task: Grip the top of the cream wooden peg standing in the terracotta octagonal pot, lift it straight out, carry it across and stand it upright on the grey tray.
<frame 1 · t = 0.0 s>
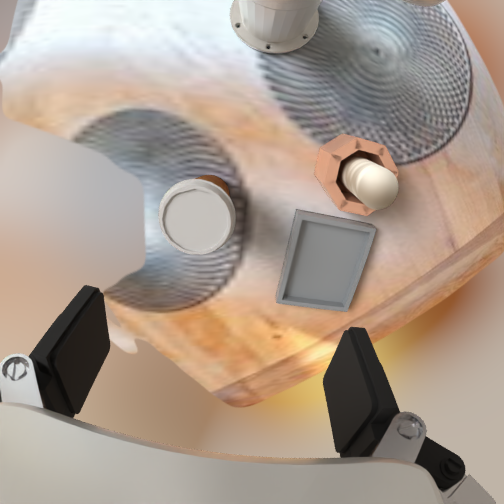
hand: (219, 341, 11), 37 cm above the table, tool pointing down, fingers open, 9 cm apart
tray: (323, 261, 51), on the table
peg: (349, 169, 43), point 1 cm above the table, touching terracotta octagonal pot
terracotta octagonal pot: (347, 168, 44), on the table
disposable coffee cup: (209, 194, 46), on the table
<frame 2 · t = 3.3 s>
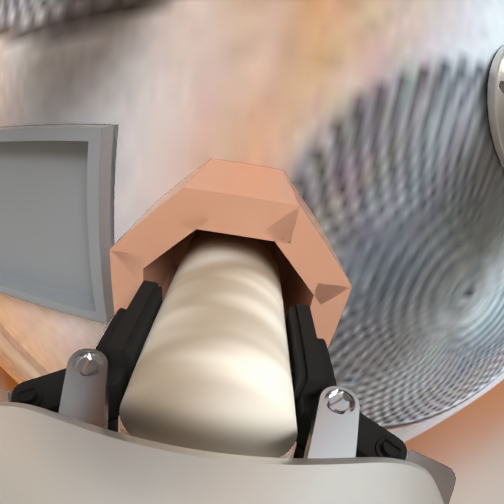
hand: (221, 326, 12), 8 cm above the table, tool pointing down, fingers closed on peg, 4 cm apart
tray: (25, 212, 18), on the table
peg: (233, 250, 18), point 1 cm above the table, touching terracotta octagonal pot, gripper
terracotta octagonal pot: (234, 244, 19), on the table
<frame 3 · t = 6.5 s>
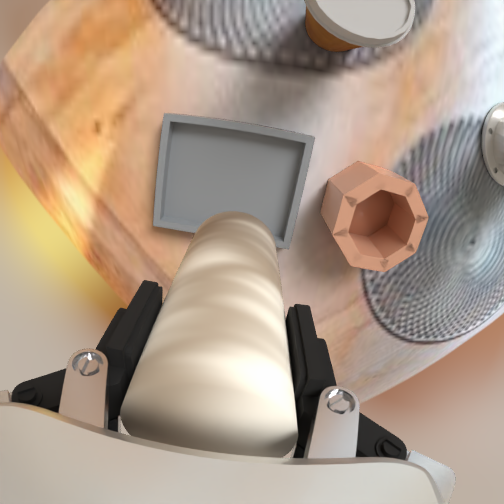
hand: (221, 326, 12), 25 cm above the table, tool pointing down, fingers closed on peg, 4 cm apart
tray: (230, 177, 34), on the table
peg: (233, 251, 18), point 18 cm above the table, touching gripper
terracotta octagonal pot: (363, 204, 35), on the table
disposable coffee cup: (332, 27, 26), on the table
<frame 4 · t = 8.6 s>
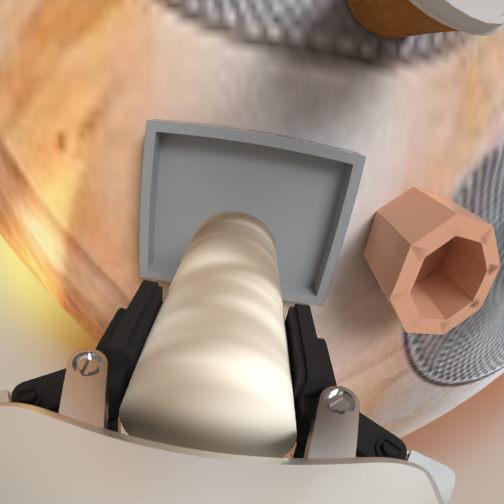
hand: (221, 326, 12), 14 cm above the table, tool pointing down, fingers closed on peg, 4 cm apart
tray: (243, 210, 25), on the table
peg: (233, 252, 18), point 8 cm above the table, touching gripper
terracotta octagonal pot: (415, 243, 26), on the table
disposable coffee cup: (381, 6, 17), on the table
when the fingers open (9 cm above the table, at t = 10.1 s): peg drops 1 cm, resting on tray.
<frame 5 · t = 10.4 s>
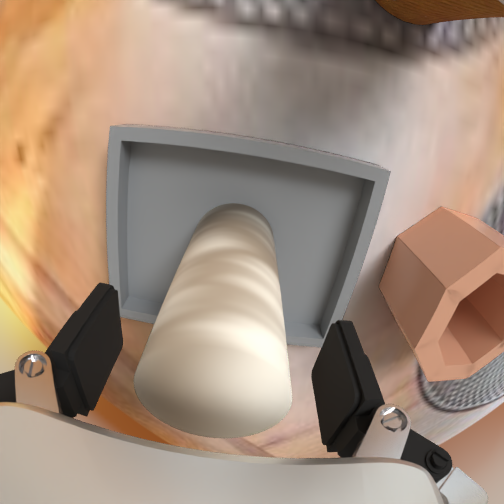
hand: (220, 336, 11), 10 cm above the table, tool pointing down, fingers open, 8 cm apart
tray: (235, 237, 20), on the table
peg: (233, 241, 19), point 1 cm above the table, touching tray
terracotta octagonal pot: (438, 271, 21), on the table
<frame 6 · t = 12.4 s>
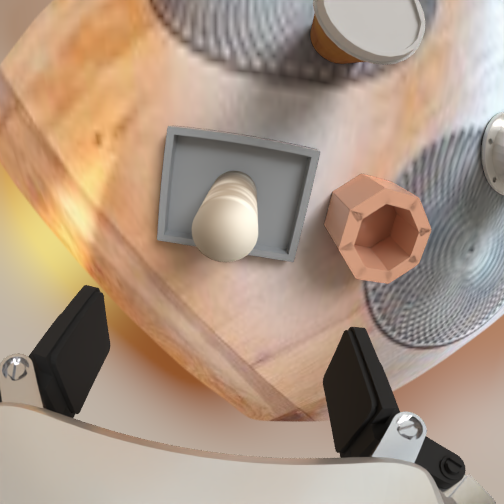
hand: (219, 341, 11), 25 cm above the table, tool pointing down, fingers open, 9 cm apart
tray: (234, 191, 34), on the table
peg: (234, 192, 34), point 1 cm above the table, touching tray
terracotta octagonal pot: (366, 216, 36), on the table
disposable coffee cup: (337, 38, 27), on the table
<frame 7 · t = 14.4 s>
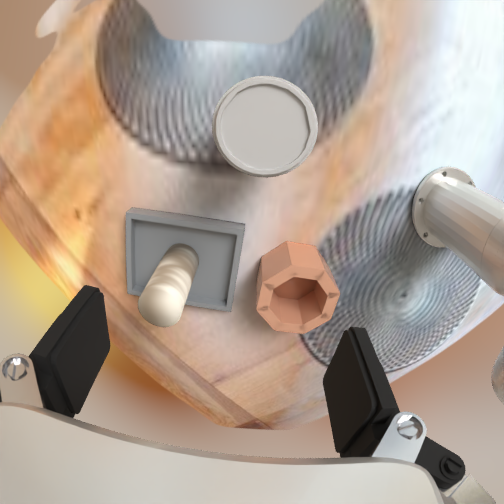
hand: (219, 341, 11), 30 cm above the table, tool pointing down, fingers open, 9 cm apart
tray: (183, 257, 44), on the table
peg: (181, 259, 43), point 1 cm above the table, touching tray
terracotta octagonal pot: (292, 274, 45), on the table
disposable coffee cup: (262, 123, 36), on the table
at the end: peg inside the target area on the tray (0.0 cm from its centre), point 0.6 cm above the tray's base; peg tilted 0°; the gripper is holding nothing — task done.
